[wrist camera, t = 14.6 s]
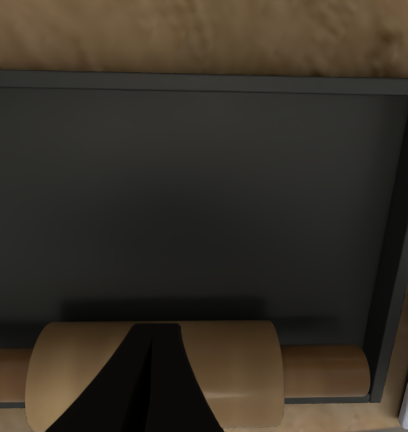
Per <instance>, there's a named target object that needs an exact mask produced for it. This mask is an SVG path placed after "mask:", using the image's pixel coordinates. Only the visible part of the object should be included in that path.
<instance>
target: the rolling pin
mask: <svg viewBox="0 0 408 432" xmlns="http://www.w3.org/2000/svg"><path fill="white" fill-rule="evenodd" d="M135 323H178V324H179V325H180V326H181V333H182V339H183V343H184V347H185V350H186V354H187V357H188V359H189V362H190V365H191V367H192V370H193V372H194V375H195V377H196V380H197V382H198V384H199V386H200V388H201V390H202V392H203V394H204V397H205V399H206V401H207V403H208V404H209V406H210V408H211V410H212V412H213V414H214V415H215V417H216V419H217V421H218V422H219V424H220V426H221V427H222V428H262V427H278V426H279V425H280V424H281V422H282V418H283V412H284V398H307V397H363V396H365V395H367V393H368V392H369V388H370V371H369V366H368V362H367V359H366V356H365V354H364V352H363V351H362V349H361V348H360V347H359V346H358V345H356V344H317V345H280V344H279V339H278V336H277V332H276V330H275V327H274V325H273V323H272V322H271V321H269V320H223V321H91V322H51V323H49V324H47V325H46V326H45V327H44V329H43V330H42V332H41V333H40V335H39V337H38V339H37V341H36V344H35V346H34V347H27V348H0V403H1V402H25V410H26V417H27V421H28V424H29V426H30V428H31V429H32V430H34V431H35V432H45V431H46V430H47V429H48V428H49V427H50V426H51V425H52V424H53V423H54V422H55V421H56V420H57V419H58V418H59V417H60V416H61V415H62V414H63V413H64V412H65V411H66V410H67V408H68V407H69V406H70V405H71V404H72V403H73V402H74V401H75V400H76V399H77V398H78V396H79V395H80V394H81V393H82V392H83V391H84V389H85V388H86V387H87V386H88V385H89V384H90V383H91V381H92V380H93V379H94V378H95V377H96V375H97V374H98V373H99V372H100V370H101V369H102V368H103V366H104V365H105V364H106V363H107V361H108V360H109V359H110V357H111V356H112V355H113V353H114V352H115V351H116V349H117V348H118V346H119V345H120V344H121V342H122V341H123V339H124V338H125V336H126V335H127V333H128V331H129V330H130V328H131V327H132V326H133V325H134V324H135Z"/></svg>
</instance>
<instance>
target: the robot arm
mask: <svg viewBox="0 0 408 432" xmlns="http://www.w3.org/2000/svg"><path fill="white" fill-rule="evenodd" d="M399 423H400V424H401V426H402V427H403V428H404V429H408V383H407V387H406V391H405V395H404V399H403V403H402V407H401V411H400V415H399ZM45 432H224V431H223V429H222V427H221V426H220V424H219V422H218V421H217V419H216V417H215V415H214V414H213V412H212V410H211V408H210V406H209V404H208V403H207V401H206V399H205V397H204V394H203V392H202V390H201V388H200V386H199V384H198V382H197V380H196V377H195V375H194V372H193V370H192V367H191V365H190V362H189V359H188V357H187V354H186V350H185V347H184V343H183V339H182V333H181V326H180V325H179V324H178V323H135V324H134V325H133V326H132V327H131V328H130V330H129V331H128V333H127V335H126V336H125V338H124V339H123V341H122V342H121V344H120V345H119V346H118V348H117V349H116V351H115V352H114V353H113V355H112V356H111V357H110V359H109V360H108V361H107V363H106V364H105V365H104V366H103V368H102V369H101V370H100V372H99V373H98V374H97V375H96V377H95V378H94V379H93V380H92V381H91V383H90V384H89V385H88V386H87V387H86V388H85V389H84V391H83V392H82V393H81V394H80V395H79V396H78V398H77V399H76V400H75V401H74V402H73V403H72V404H71V405H70V406H69V407H68V408H67V410H66V411H65V412H64V413H63V414H62V415H61V416H60V417H59V418H58V419H57V420H56V421H55V422H54V423H53V424H52V425H51V426H50V427H49V428H48V429H47V430H46V431H45Z"/></svg>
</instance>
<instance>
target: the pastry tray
mask: <svg viewBox="0 0 408 432" xmlns="http://www.w3.org/2000/svg"><path fill="white" fill-rule="evenodd" d="M407 284H408V78H370V77H324V76H279V75H233V74H187V73H142V72H96V71H51V70H5V69H0V348H27V347H34V346H35V344H36V341H37V339H38V337H39V335H40V333H41V332H42V330H43V329H44V327H45V326H46V325H47V324H49V323H51V322H91V321H223V320H269V321H271V322H272V323H273V325H274V327H275V330H276V332H277V336H278V339H279V344H280V345H317V344H356V345H358V346H359V347H360V348H361V349H362V351H363V352H364V354H365V356H366V359H367V362H368V366H369V371H370V388H369V392H368V393H367V395H365V396H363V397H307V398H284V404H316V403H368V402H370V403H380V402H381V398H382V394H383V389H384V385H385V380H386V376H387V372H388V367H389V363H390V358H391V354H392V350H393V345H394V341H395V336H396V332H397V328H398V323H399V319H400V314H401V310H402V306H403V301H404V297H405V292H406V288H407ZM0 408H25V402H1V403H0Z"/></svg>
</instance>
